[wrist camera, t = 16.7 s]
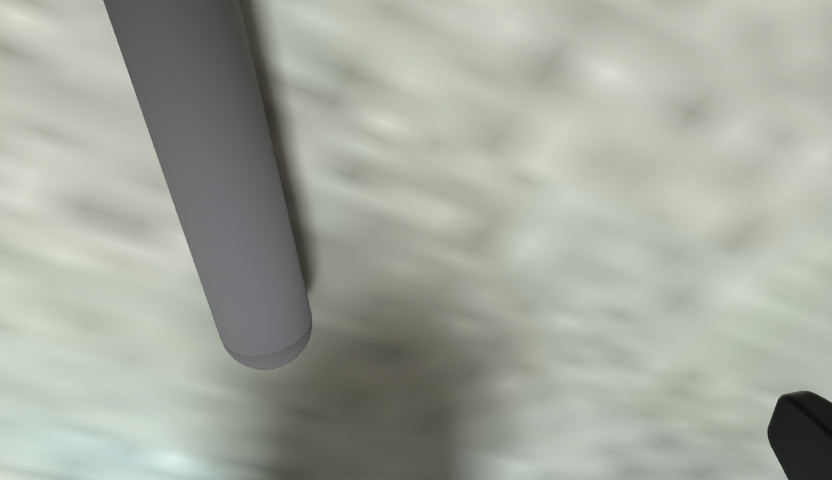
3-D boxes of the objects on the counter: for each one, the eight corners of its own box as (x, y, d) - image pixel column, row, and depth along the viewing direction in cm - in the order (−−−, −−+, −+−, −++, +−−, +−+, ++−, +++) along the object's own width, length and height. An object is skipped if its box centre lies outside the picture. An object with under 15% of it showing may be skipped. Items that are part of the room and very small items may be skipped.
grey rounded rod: (315, 319, 23) (322, 378, 20) (232, 336, 22) (230, 397, 20) (165, -342, 13) (144, -384, 10) (11, -332, 12) (-49, -374, 10)
